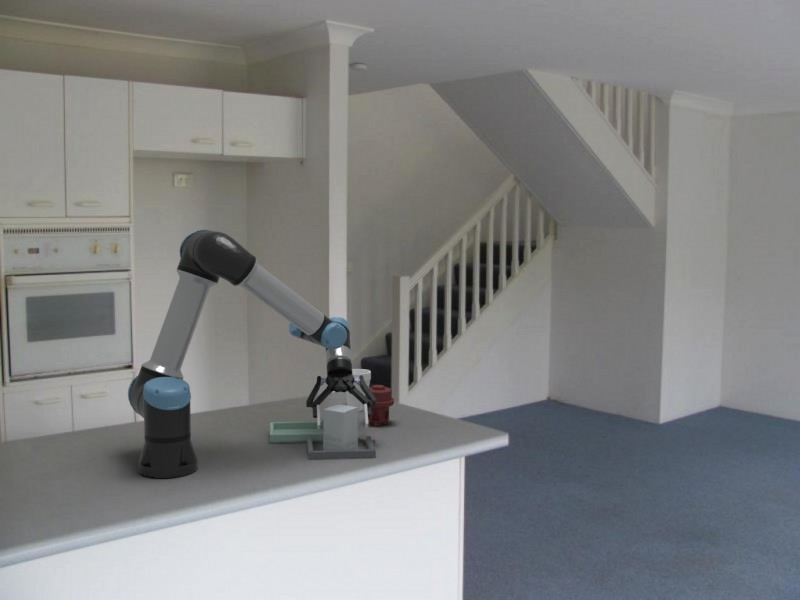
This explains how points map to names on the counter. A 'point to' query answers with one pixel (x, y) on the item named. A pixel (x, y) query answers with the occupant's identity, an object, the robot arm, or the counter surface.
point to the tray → (295, 432)
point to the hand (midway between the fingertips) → (342, 426)
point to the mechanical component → (380, 405)
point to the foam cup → (351, 398)
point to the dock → (342, 452)
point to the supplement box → (340, 428)
